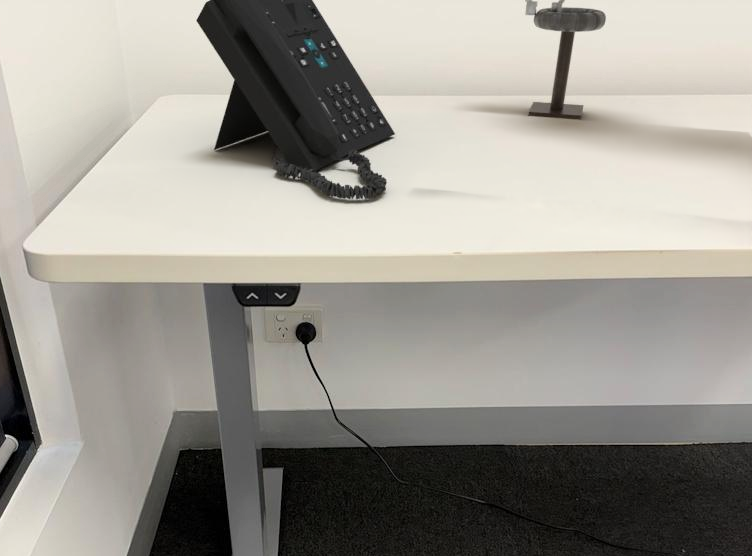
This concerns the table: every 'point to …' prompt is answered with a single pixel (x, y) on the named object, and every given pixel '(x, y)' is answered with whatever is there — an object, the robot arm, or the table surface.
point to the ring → (570, 19)
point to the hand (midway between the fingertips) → (543, 15)
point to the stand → (559, 86)
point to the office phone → (294, 90)
